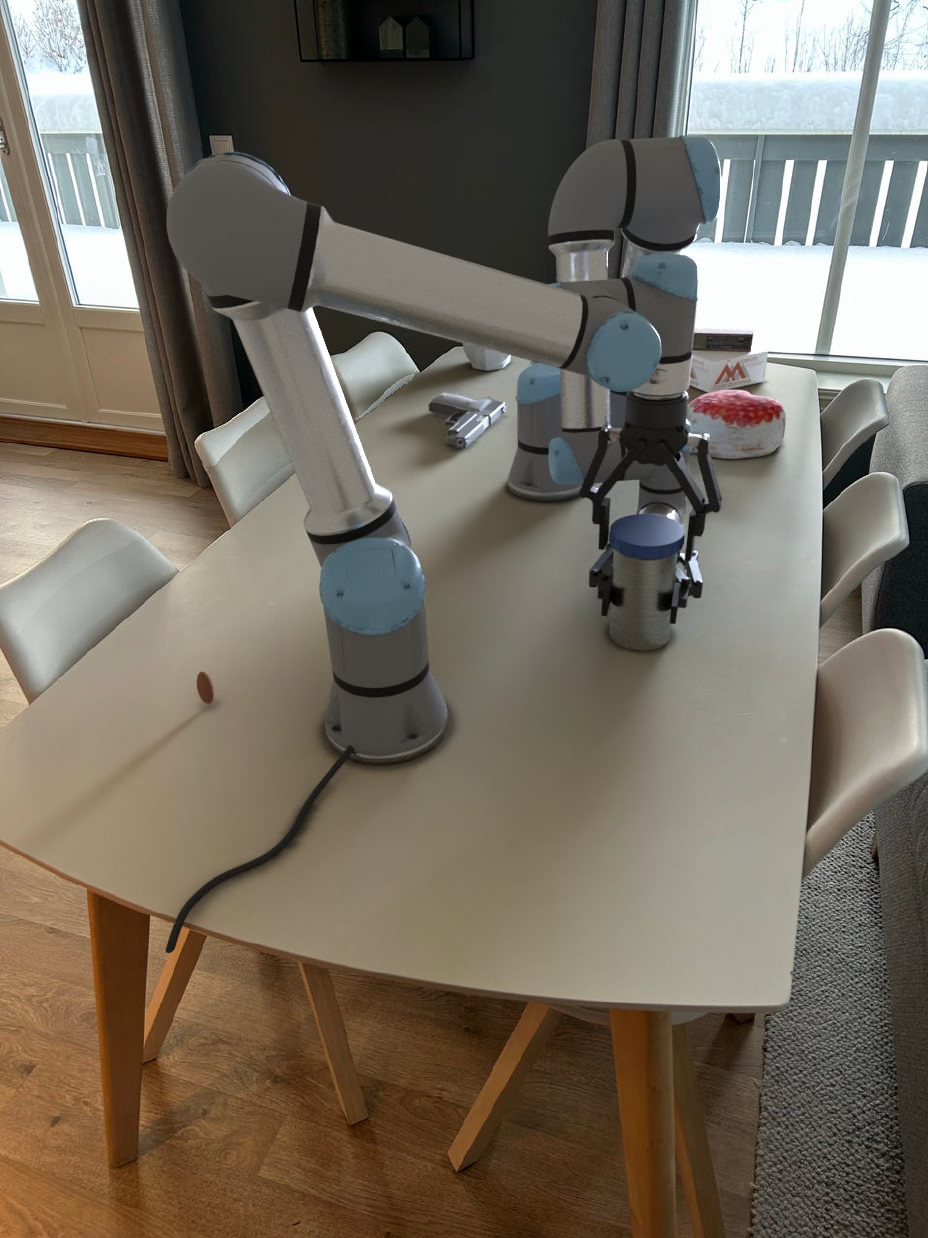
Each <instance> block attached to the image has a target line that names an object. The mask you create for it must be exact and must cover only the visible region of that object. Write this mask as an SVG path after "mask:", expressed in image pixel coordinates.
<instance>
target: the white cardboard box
mask: <svg viewBox="0 0 928 1238" xmlns="http://www.w3.org/2000/svg"><path fill="white" fill-rule="evenodd" d="M753 338H754V329H729V328H728V329H725V328H723V329H722V328H695V329H694V337H693V346H692V365H691V375H690V385H689V386H691V387H694V388H696V389H698V390H701V391H703V392H705V393H711V392H718V391H721V390H732V389H736V388H741V387H745V386H750V385H754V384H759V383H763V382H765V377H766V371H767V362H768V357H769V350H767V349H764V348H760V347H758V346H755V345H753Z"/></svg>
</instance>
